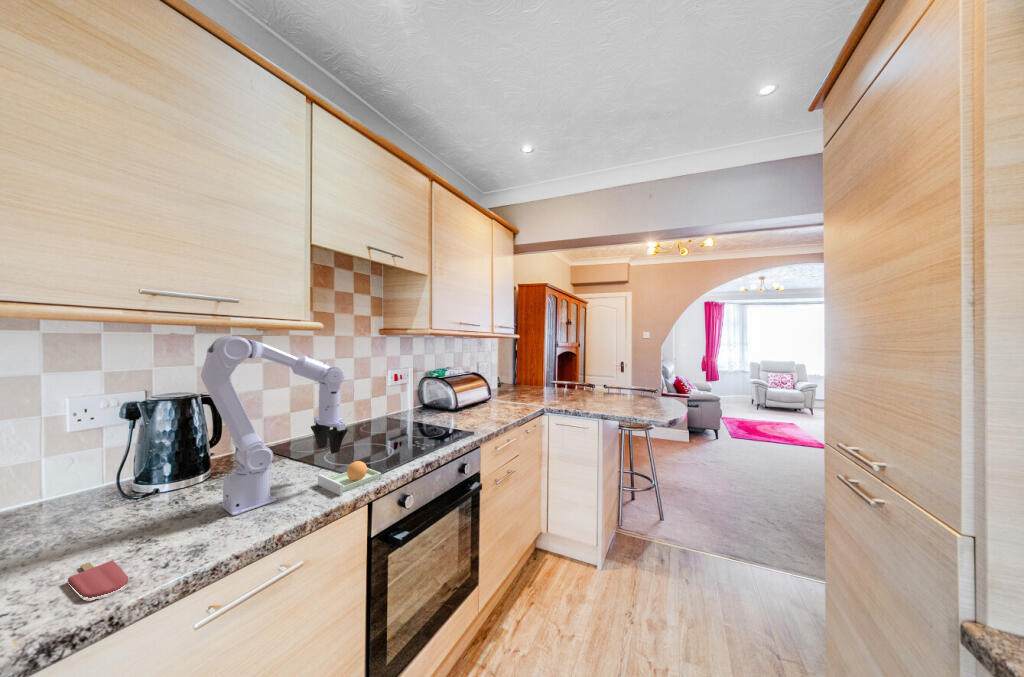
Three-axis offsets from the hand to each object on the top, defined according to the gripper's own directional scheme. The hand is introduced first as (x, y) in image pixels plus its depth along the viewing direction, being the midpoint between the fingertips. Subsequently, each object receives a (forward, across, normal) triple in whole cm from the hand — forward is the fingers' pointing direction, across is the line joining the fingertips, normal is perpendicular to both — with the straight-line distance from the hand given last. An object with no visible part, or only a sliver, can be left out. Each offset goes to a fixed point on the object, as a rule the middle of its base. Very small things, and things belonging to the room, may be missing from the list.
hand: (328, 450), depth 103 cm
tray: (+9, -6, -5) cm, 12 cm away
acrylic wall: (+9, -7, +3) cm, 12 cm away
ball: (+6, -8, -5) cm, 11 cm away
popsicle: (+10, -9, +45) cm, 47 cm away
